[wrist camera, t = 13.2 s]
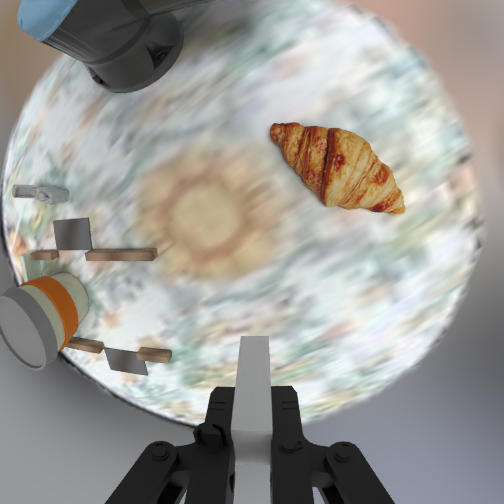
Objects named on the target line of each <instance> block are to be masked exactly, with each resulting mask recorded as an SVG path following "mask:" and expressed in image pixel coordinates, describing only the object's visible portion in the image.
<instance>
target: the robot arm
mask: <svg viewBox="0 0 504 504" xmlns="http://www.w3.org/2000/svg"><path fill="white" fill-rule="evenodd" d="M210 1H215V0H22V1H21V4H20V7H19V10H18V15H17V21H18V25H19V27H20V29H21V30H22V31H24V32H26V33H27V34H29V35H31V36H33V37H34V39H35V40H37V41H40V42H42V43H44V44H47V45H49V46H51V47H53V48H55V49H57V50H59V51H62V52H64V53H66V54H68V55H70V56H72V57H74V58H76V59H78V60H80V61H82V62H83V63H84V65H85V66H86V68H87V70H88V72H89V73H90V75H91V77H92V78H93V80H94V81H95V82H96V83H97V84H99V85H100V86H102V87H104V88H106V89H108V90H110V91H113V92H119V93H125V92H132V91H136V90H139V89H141V88H144V87H146V86H148V85H150V84H151V83H153V82H155V81H156V80H157V79H159V78H160V77H161V76H162V75H164V74H165V73H166V72H167V71H168V70H169V68H170V67H171V66H172V65H173V63H174V62H175V61H176V59H177V57H178V55H179V53H180V51H181V48H182V44H183V31H182V28H181V26H180V24H179V22H178V21H177V19H176V18H175V16H174V15H173V14H172V13H171V12H170V11H173V10H177V9H180V8H184V7H188V6H192V5H196V4H200V3H205V2H210ZM193 434H194V437H195V441H196V442H194V443H192V444H189V445H184V446H176V447H174V446H173V445H172V444H170V443H169V442H165V441H156V442H153V443H151V444H149V445H148V446H147V447H146V449H145V450H144V451H143V453H142V454H141V456H140V457H139V458H138V460H137V461H136V462H135V464H134V465H133V466H132V468H131V469H130V471H129V472H128V473H127V475H126V476H125V477H124V479H123V480H122V481H121V483H120V484H119V485H118V487H117V488H116V489H115V491H114V492H113V493H112V495H111V496H110V497H109V499H108V500H107V501H106V503H105V504H179V503H180V501H181V499H182V497H183V496H184V494H185V492H186V490H187V493H186V498H185V503H184V504H233V500H234V487H235V463H236V464H247V465H249V464H250V465H261V464H262V465H263V464H264V465H265V464H270V468H271V472H270V491H271V492H270V493H271V504H314V498H313V491H312V487H317V488H318V490H319V492H320V494H321V496H322V498H323V500H324V502H325V504H395V503H394V501H393V500H392V498H391V497H390V495H389V494H388V492H387V491H386V489H385V488H384V487H383V485H382V483H381V482H380V481H379V479H378V477H377V476H376V474H375V473H374V471H373V470H372V468H371V467H370V465H369V464H368V462H367V461H366V459H365V457H364V456H363V454H362V453H361V451H360V450H359V448H357V446H356V445H355V444H352V443H350V442H343V441H342V442H337V443H335V444H333V445H331V446H330V447H326V446H320V445H315V444H313V443H310V442H309V441H308V440H307V439H306V438H305V437H304V435H303V432H302V425H301V418H300V411H299V404H298V397H297V392H296V391H295V390H294V388H293V387H292V386H271V379H270V356H269V336H241V341H240V350H239V359H238V368H237V377H236V386H235V387H216V388H215V389H214V390H213V391H212V393H211V394H210V399H209V404H208V410H207V413H206V418H205V422H204V423H201V424H199V425H198V426H197V427H196V428H195V429H194V431H193Z"/></svg>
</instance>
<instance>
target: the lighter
mask: <svg viewBox="0 0 504 504" xmlns="http://www.w3.org/2000/svg"><path fill="white" fill-rule="evenodd" d="M12 195H13V197H14V198H36V199H38V200H40V201H43V202H45V203H47V204H50V205H52V204H57V203H62V202H67V201H68V196H69V191H66V190H64V189H61V188H58V187H56V186H47V187H38V188H36V187H35V186H34V185H13V191H12Z"/></svg>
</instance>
